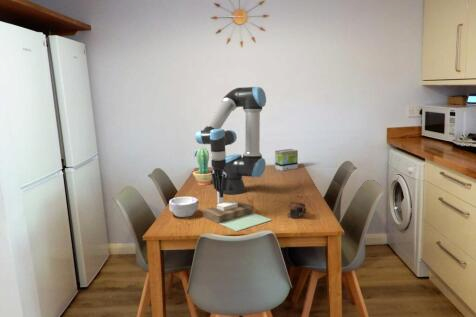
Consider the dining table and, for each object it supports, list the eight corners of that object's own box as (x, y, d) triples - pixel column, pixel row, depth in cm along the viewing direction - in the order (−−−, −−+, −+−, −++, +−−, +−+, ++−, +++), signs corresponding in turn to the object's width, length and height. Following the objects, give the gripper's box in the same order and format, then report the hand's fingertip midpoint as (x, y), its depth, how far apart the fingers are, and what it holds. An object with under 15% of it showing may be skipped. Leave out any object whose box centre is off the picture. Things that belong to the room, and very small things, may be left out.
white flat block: (230, 204, 211) (230, 200, 210) (237, 207, 206) (237, 203, 206) (216, 208, 205) (216, 204, 205) (223, 210, 201) (223, 207, 200)
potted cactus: (209, 179, 285) (207, 145, 281) (219, 183, 272) (217, 147, 268) (189, 183, 277) (187, 147, 273) (199, 187, 264) (197, 150, 260)
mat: (253, 213, 207) (253, 213, 207) (271, 220, 196) (271, 219, 196) (219, 223, 194) (219, 223, 194) (236, 231, 183) (236, 230, 183)
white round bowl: (204, 213, 210) (203, 199, 208) (181, 221, 200) (180, 206, 198) (187, 208, 221) (186, 194, 219) (164, 215, 211) (163, 200, 209)
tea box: (282, 171, 303) (281, 152, 300) (274, 169, 312) (274, 150, 309) (298, 168, 310) (297, 149, 307) (290, 166, 319) (290, 148, 316)
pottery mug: (282, 216, 202) (286, 201, 204) (296, 221, 206) (299, 206, 208) (297, 217, 192) (301, 200, 194) (312, 222, 196) (315, 205, 198)
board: (237, 207, 218) (237, 200, 217) (253, 213, 207) (253, 206, 206) (203, 217, 205) (203, 209, 204) (219, 223, 194) (218, 216, 193)
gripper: (205, 158, 209) (207, 201, 213) (219, 161, 198) (221, 207, 203) (217, 156, 213) (219, 198, 217) (231, 159, 203) (233, 204, 207)
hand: (220, 202), depth 210 cm, fingers closed
